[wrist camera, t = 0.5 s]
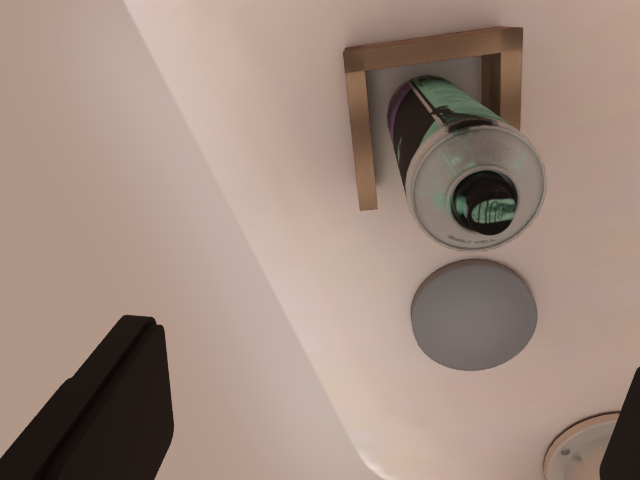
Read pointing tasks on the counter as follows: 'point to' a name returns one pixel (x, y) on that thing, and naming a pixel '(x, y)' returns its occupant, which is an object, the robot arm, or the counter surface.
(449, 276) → the mat
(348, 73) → the frame
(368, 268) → the counter surface
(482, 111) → the spray can
